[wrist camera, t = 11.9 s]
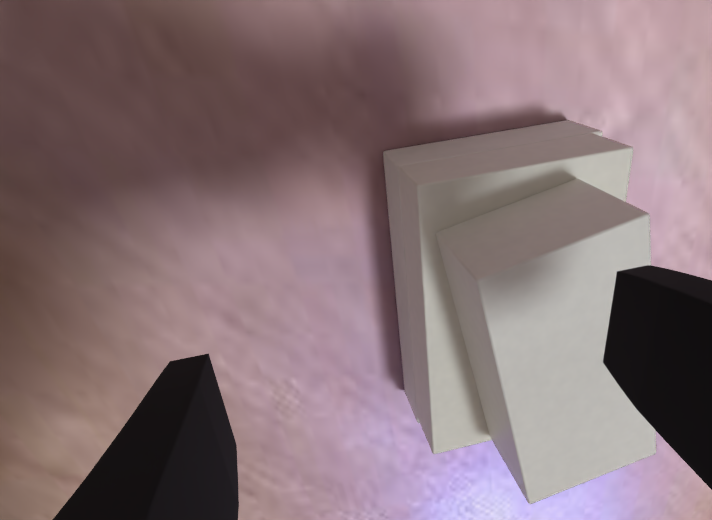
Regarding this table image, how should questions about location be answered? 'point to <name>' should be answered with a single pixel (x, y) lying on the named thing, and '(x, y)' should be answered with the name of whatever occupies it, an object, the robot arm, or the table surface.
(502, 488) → the table surface
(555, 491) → the cream rectangular block
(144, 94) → the table surface
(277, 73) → the table surface
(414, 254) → the cream stack
